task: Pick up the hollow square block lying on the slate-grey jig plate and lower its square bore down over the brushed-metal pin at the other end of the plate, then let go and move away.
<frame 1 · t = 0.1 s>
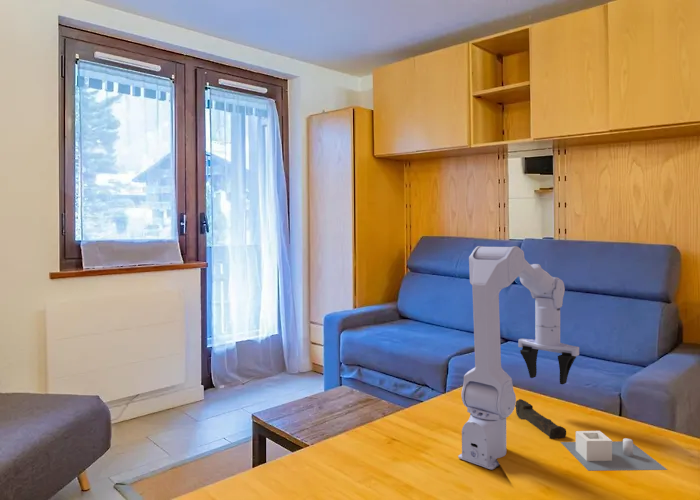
hand: (547, 380, 125), 10 cm above the table, fingers open, 7 cm apart
hand tool: (534, 429, 121), on the table
jig plate: (610, 460, 103), on the table
hollow square block: (593, 455, 103), point 1 cm above the table, touching jig plate
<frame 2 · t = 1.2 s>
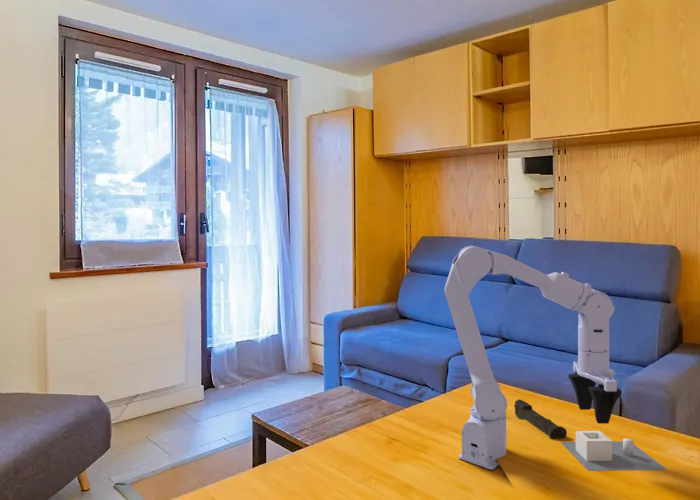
hand: (593, 415, 103), 9 cm above the table, fingers open, 7 cm apart
nothing on the table moved.
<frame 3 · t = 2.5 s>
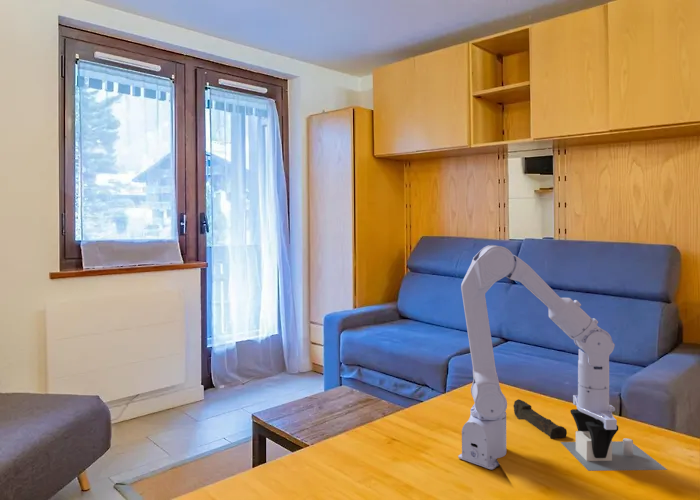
hand: (593, 451, 103), 2 cm above the table, fingers closed on hollow square block, 5 cm apart
hollow square block: (593, 455, 103), point 1 cm above the table, touching gripper, jig plate
everything else where it was.
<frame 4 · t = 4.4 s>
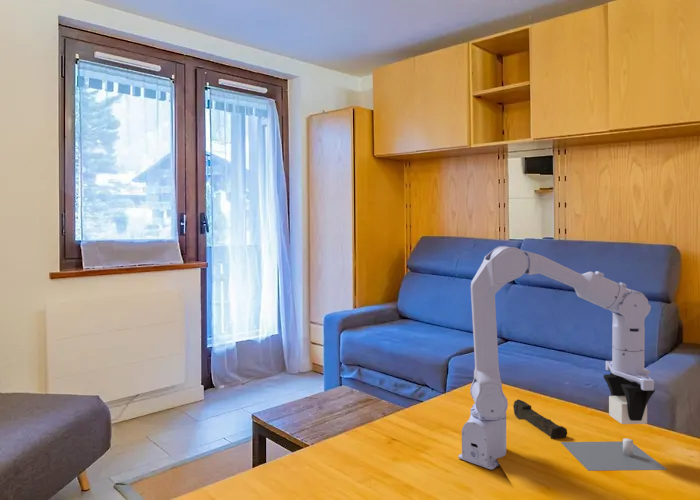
hand: (627, 414, 103), 9 cm above the table, fingers closed on hollow square block, 5 cm apart
hollow square block: (627, 419, 103), point 9 cm above the table, touching gripper
everything else where it was.
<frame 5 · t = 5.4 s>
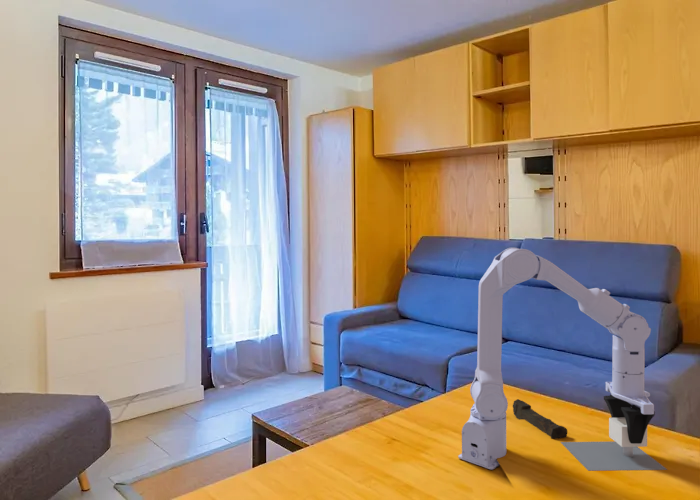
hand: (628, 437, 103), 5 cm above the table, fingers closed on hollow square block, 5 cm apart
hollow square block: (627, 441, 103), point 4 cm above the table, touching gripper
everything else where it was.
when the fingers open (3 cm above the table, at t = 6.3 s): hollow square block drops 1 cm, resting on jig plate.
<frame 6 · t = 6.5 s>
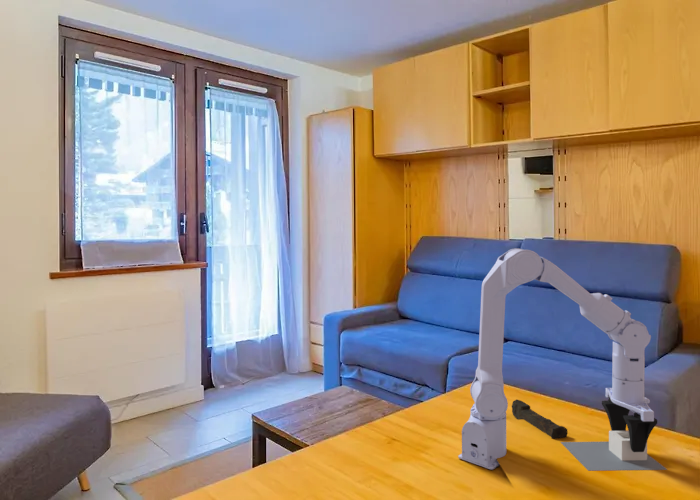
hand: (627, 443, 103), 4 cm above the table, fingers open, 7 cm apart
hollow square block: (627, 454, 103), point 1 cm above the table, touching jig plate
everything else where it was.
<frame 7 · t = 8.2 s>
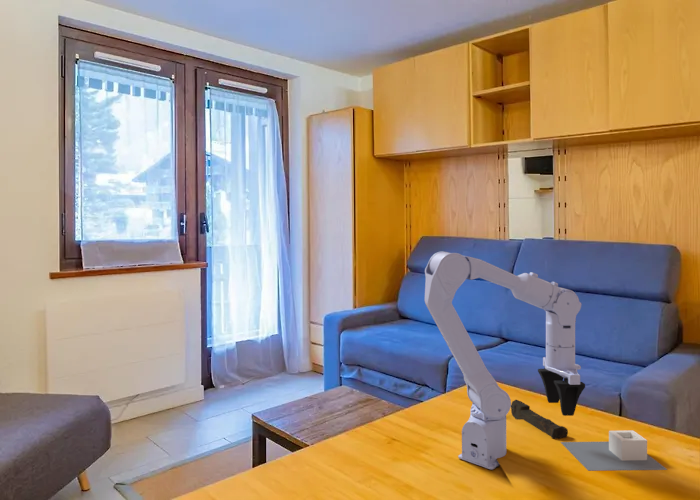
hand: (560, 408, 107), 9 cm above the table, fingers open, 7 cm apart
nothing on the table moved.
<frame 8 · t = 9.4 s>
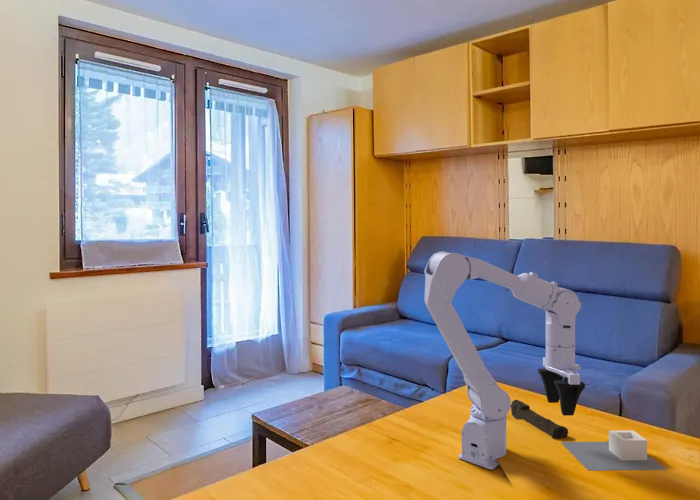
hand: (560, 408, 107), 9 cm above the table, fingers open, 7 cm apart
nothing on the table moved.
at the end: hollow square block 0.1 cm from the target spot on the jig plate, point 1.2 cm above the jig plate's base; hollow square block tilted 0°; the gripper is holding nothing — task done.
